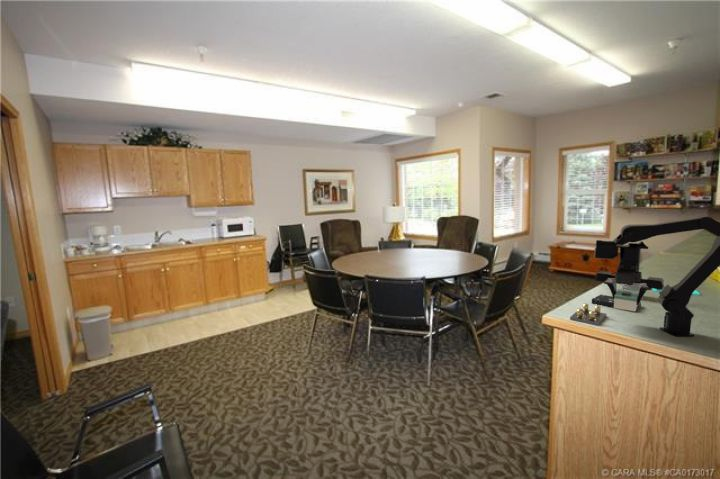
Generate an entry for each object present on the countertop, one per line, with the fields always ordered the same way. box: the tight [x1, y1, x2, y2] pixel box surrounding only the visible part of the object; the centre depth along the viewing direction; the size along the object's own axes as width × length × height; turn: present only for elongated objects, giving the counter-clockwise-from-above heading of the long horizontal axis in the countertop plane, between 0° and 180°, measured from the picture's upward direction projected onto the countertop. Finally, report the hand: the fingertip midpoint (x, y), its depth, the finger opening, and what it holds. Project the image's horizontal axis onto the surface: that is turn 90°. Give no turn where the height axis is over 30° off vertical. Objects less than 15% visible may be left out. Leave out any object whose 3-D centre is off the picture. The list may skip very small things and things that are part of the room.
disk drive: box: [591, 294, 642, 313], centre depth 143 cm, size 10×3×15 cm
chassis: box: [569, 303, 607, 326], centre depth 130 cm, size 13×9×4 cm
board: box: [613, 288, 639, 312], centre depth 120 cm, size 11×6×5 cm, turn 137°
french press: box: [619, 265, 644, 300], centre depth 152 cm, size 10×12×25 cm
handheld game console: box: [651, 285, 701, 296], centre depth 160 cm, size 10×16×1 cm, turn 58°
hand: (626, 302), depth 121 cm, fingers closed on board, 6 cm apart
